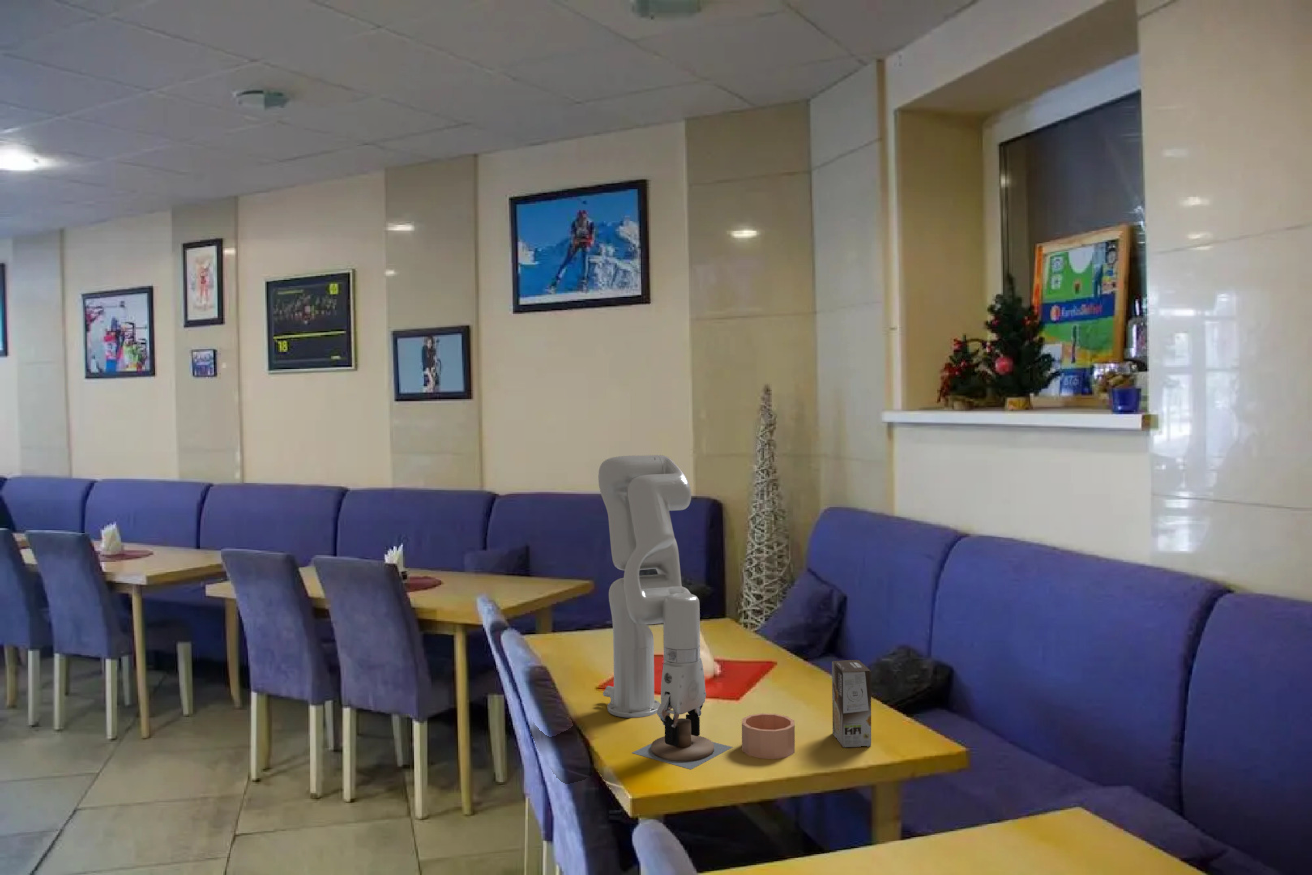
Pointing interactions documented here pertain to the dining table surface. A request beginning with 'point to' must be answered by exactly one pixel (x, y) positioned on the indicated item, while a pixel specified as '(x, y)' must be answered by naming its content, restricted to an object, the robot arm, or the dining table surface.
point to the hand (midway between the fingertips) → (682, 738)
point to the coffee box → (851, 703)
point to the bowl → (768, 736)
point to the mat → (686, 764)
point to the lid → (683, 745)
